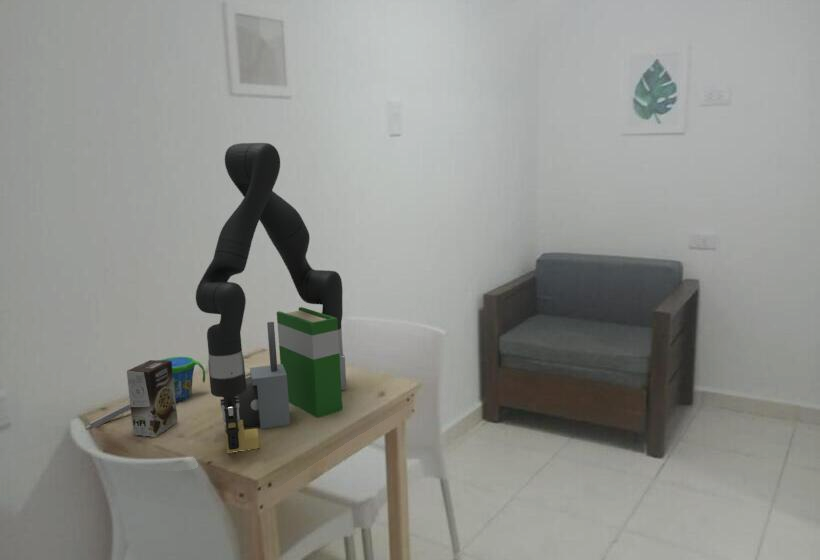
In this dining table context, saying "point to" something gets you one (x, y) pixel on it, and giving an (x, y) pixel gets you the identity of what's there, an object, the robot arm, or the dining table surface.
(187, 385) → the snack cup
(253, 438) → the wedge
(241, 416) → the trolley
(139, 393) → the coffee box
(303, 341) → the hardback book
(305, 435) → the dining table surface
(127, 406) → the caliper
